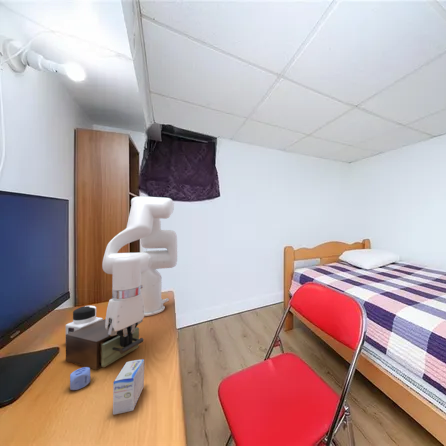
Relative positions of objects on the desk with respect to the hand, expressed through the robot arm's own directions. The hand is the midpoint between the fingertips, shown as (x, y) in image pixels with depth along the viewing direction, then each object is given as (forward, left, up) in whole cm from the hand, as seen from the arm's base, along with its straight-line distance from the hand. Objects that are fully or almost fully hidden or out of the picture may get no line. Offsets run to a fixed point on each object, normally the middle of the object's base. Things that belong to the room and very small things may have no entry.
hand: (126, 345), depth 73 cm
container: (-4, -28, -5) cm, 28 cm away
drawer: (0, -6, -4) cm, 7 cm away
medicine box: (+12, +17, -5) cm, 22 cm away
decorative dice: (+12, -1, -5) cm, 13 cm away
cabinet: (0, -11, -5) cm, 13 cm away
